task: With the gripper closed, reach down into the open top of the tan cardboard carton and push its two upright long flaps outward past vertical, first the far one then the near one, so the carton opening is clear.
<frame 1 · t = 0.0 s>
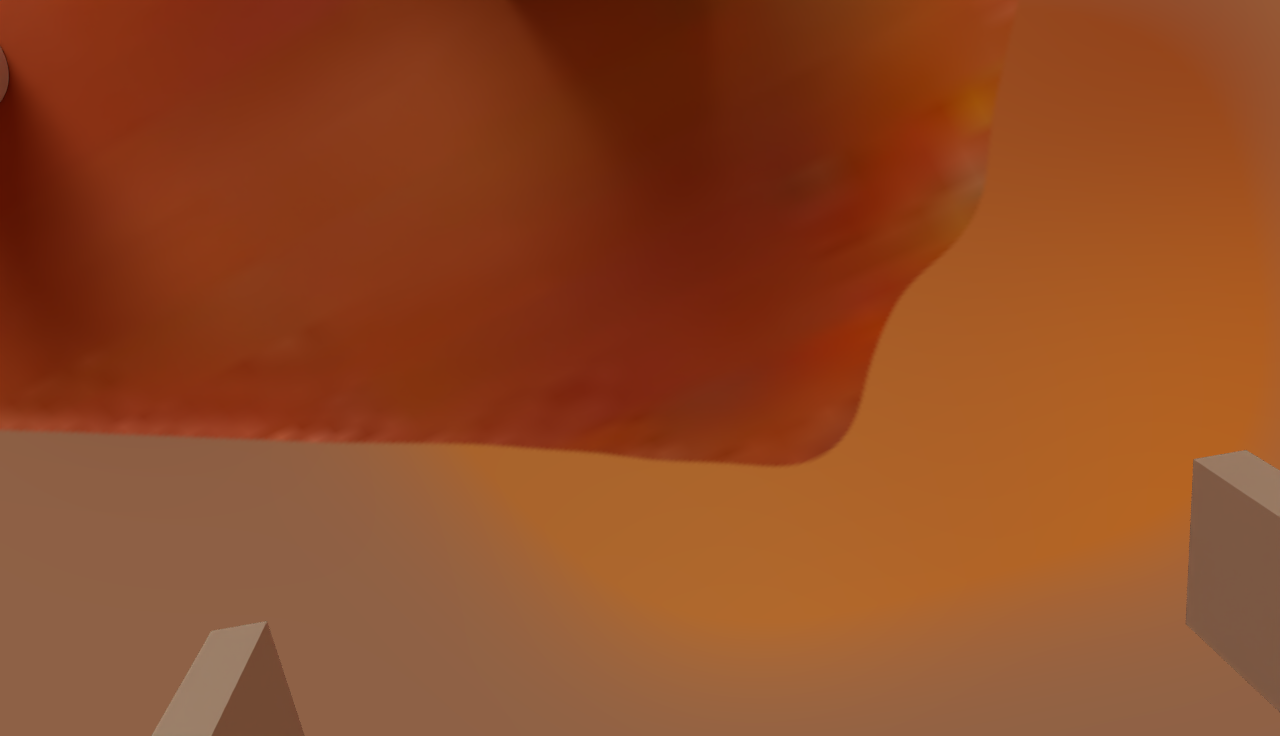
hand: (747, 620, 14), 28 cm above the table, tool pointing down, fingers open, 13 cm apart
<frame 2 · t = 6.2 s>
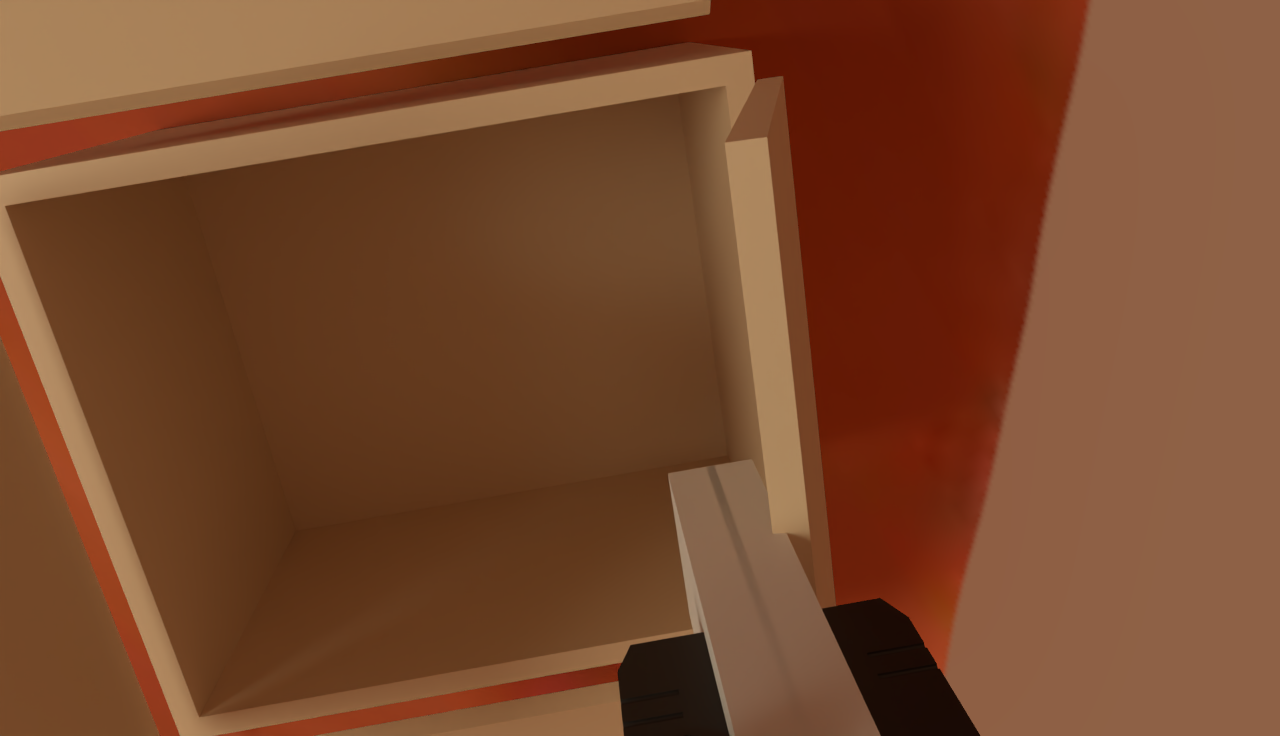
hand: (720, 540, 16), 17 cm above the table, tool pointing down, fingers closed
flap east: (801, 472, 17), point 15 cm above the table, hinge at 76.3°, touching gripper
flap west: (9, 611, 17), point 15 cm above the table, hinge at 75.0°
carton: (474, 308, 31), on the table
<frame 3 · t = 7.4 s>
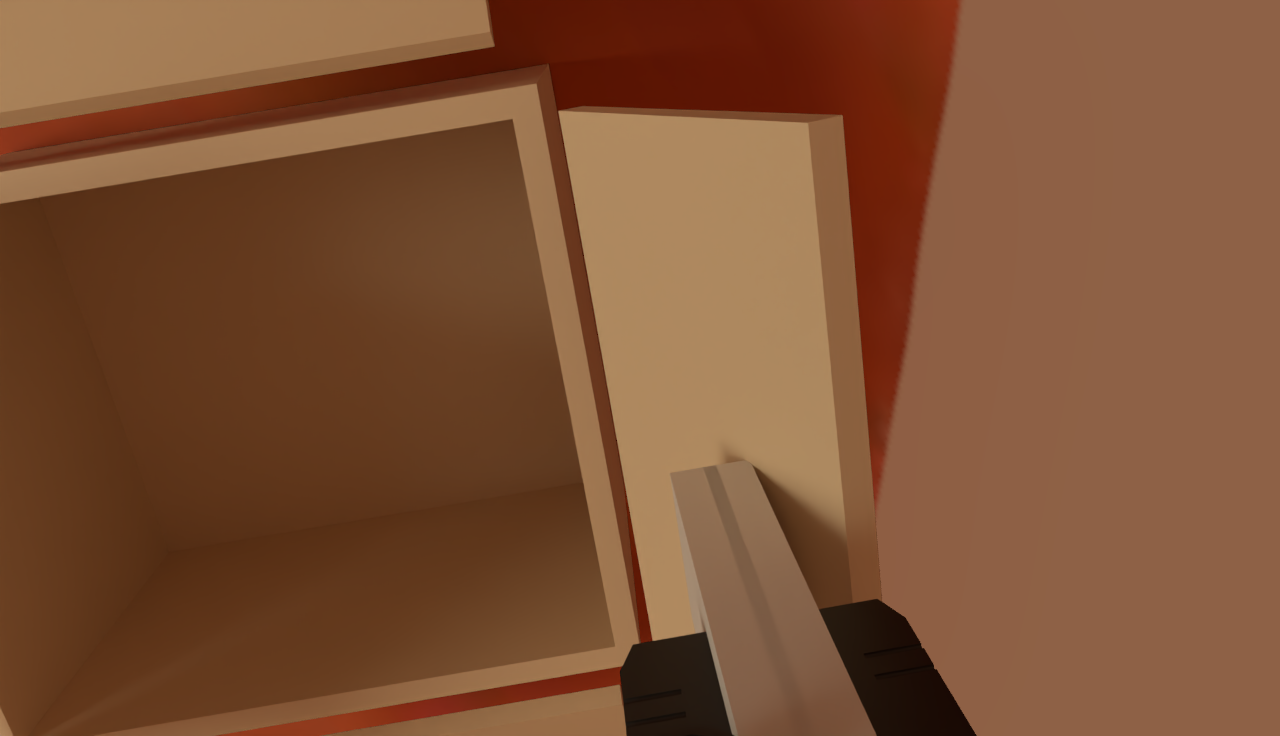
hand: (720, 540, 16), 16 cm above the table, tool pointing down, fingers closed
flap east: (720, 484, 17), point 15 cm above the table, hinge at 112.2°, touching gripper
carton: (342, 330, 31), on the table
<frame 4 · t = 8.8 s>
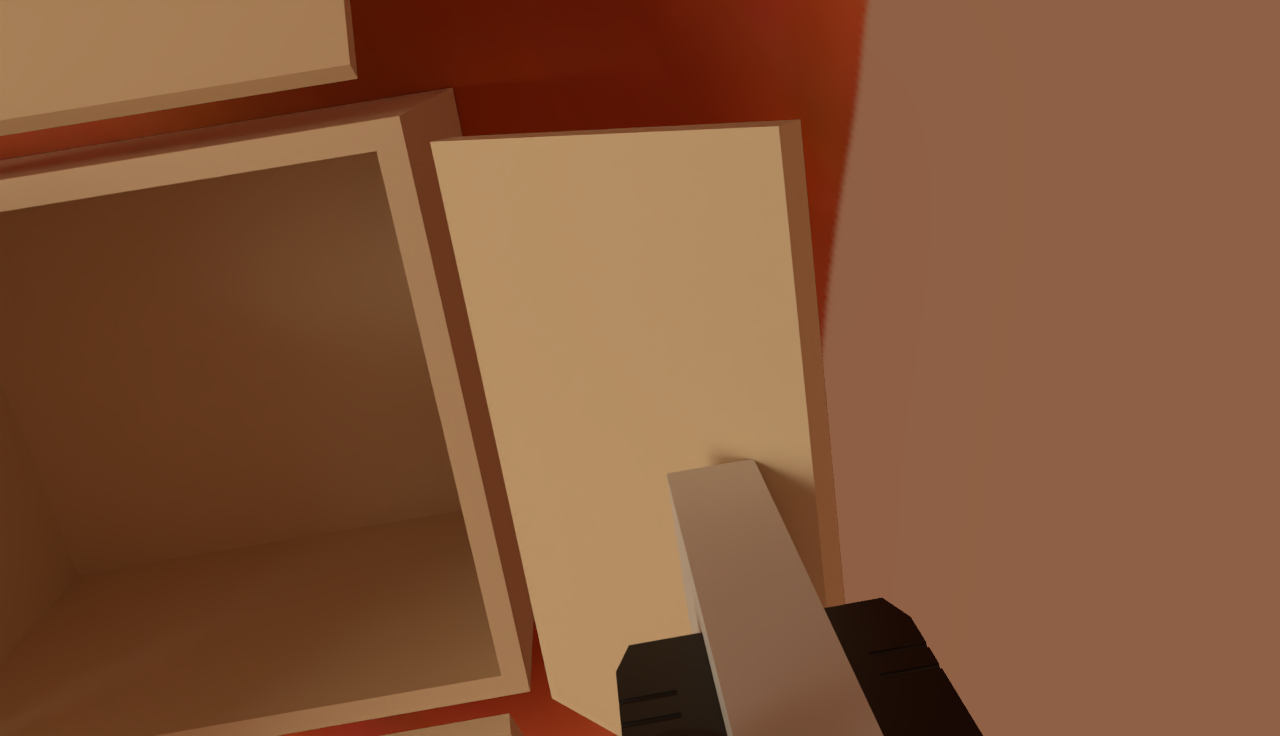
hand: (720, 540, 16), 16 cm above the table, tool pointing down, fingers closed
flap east: (643, 486, 18), point 14 cm above the table, hinge at 131.9°, touching gripper
carton: (250, 353, 31), on the table
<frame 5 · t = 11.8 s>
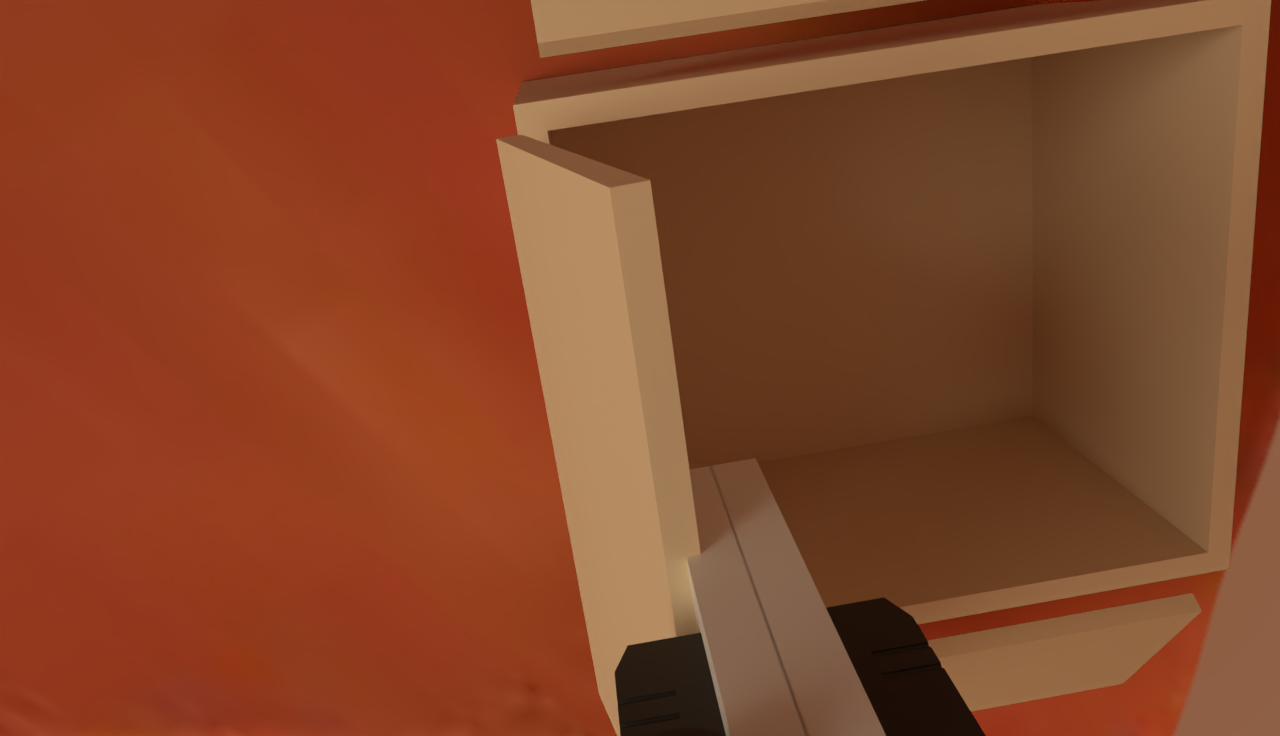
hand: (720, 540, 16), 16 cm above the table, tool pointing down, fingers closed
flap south: (906, 687, 28), point 8 cm above the table, hinge at 215.0°
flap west: (615, 524, 17), point 15 cm above the table, hinge at 78.3°, touching gripper
carton: (803, 266, 32), on the table
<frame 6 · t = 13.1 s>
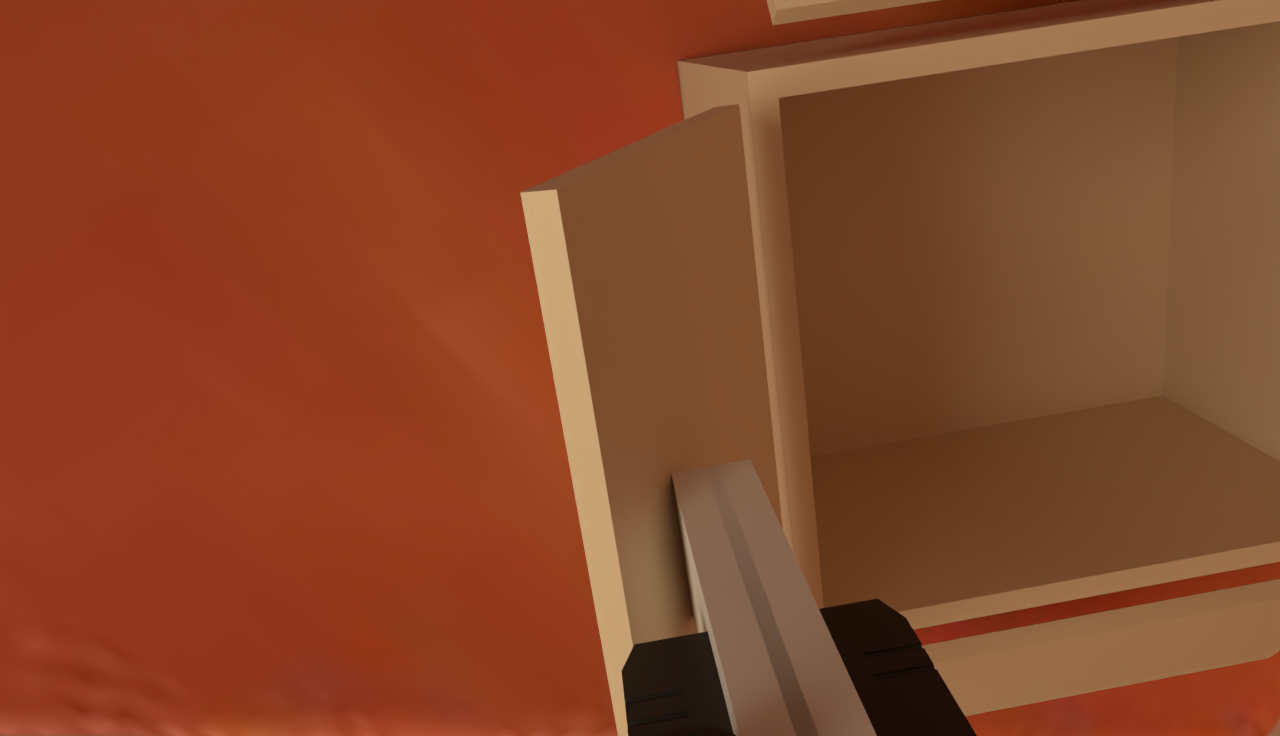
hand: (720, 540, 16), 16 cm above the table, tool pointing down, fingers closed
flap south: (1070, 660, 28), point 8 cm above the table, hinge at 215.0°
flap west: (702, 502, 18), point 15 cm above the table, hinge at 117.4°, touching gripper
carton: (943, 246, 32), on the table
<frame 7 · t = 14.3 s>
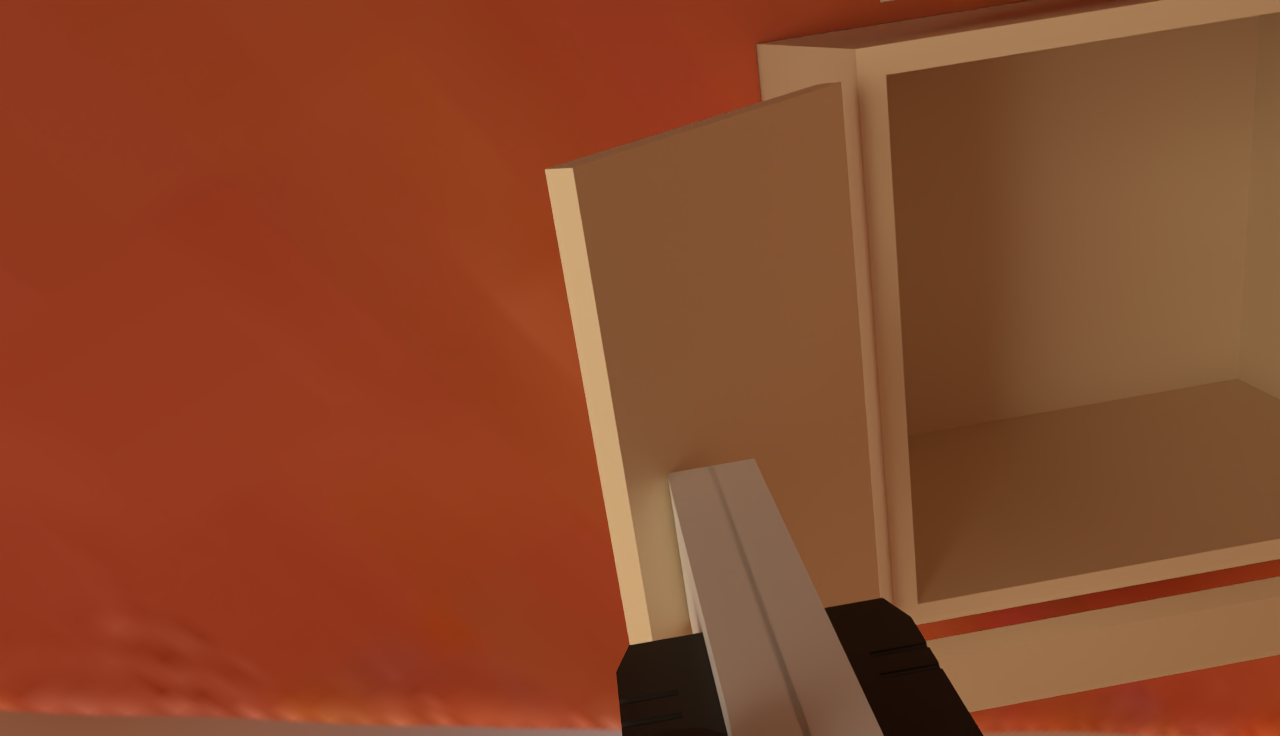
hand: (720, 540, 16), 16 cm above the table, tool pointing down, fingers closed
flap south: (1155, 641, 28), point 8 cm above the table, hinge at 215.0°
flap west: (760, 469, 18), point 14 cm above the table, hinge at 131.6°, touching gripper
carton: (1018, 228, 32), on the table
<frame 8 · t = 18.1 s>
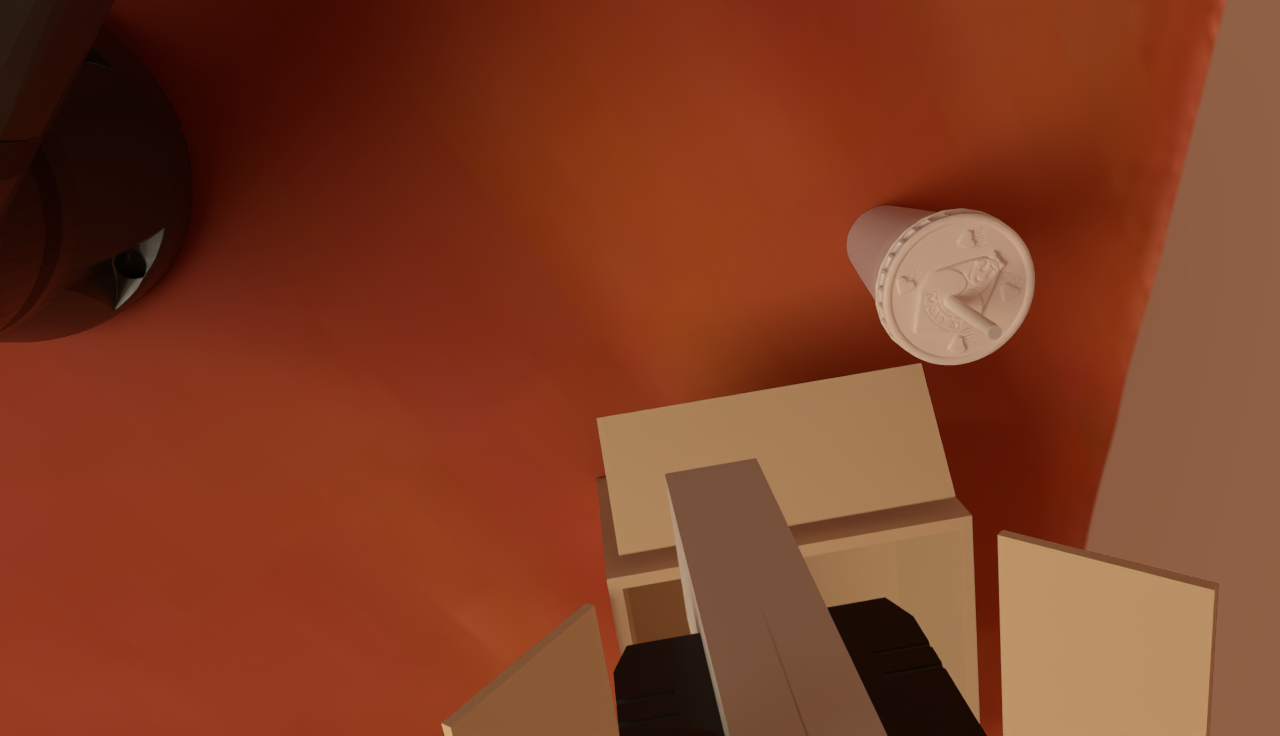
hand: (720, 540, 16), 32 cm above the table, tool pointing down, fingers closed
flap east: (1098, 691, 41), point 14 cm above the table, hinge at 132.0°
smoothie: (882, 241, 48), on the table
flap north: (772, 457, 43), point 8 cm above the table, hinge at 215.0°
carton: (761, 567, 54), on the table
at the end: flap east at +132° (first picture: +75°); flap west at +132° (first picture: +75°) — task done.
